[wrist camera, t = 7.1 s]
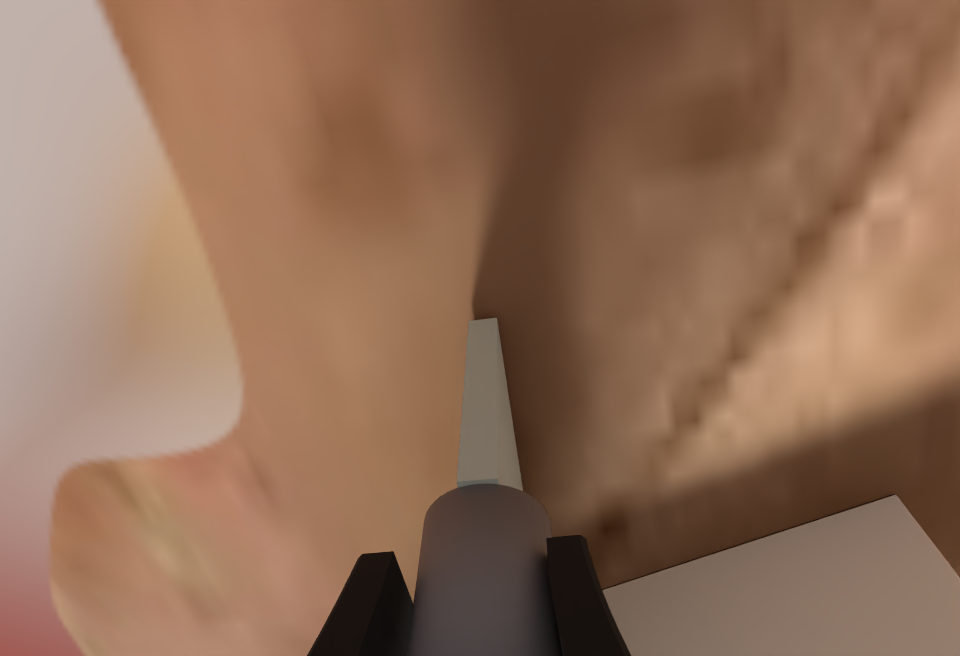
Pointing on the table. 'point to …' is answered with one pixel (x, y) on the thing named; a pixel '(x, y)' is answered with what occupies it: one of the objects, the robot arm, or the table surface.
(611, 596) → the carton
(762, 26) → the table surface
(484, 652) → the flap
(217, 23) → the table surface
